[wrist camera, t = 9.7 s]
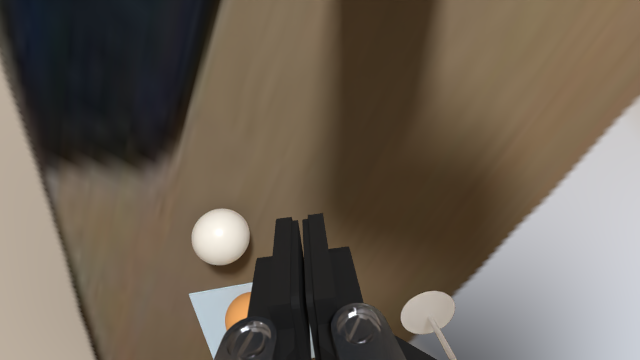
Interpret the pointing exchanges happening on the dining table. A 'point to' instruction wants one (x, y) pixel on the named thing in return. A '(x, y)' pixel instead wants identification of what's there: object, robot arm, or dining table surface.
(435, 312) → the wineglass
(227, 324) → the orange ball
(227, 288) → the blue mark
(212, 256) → the cue ball
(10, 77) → the dining table surface
